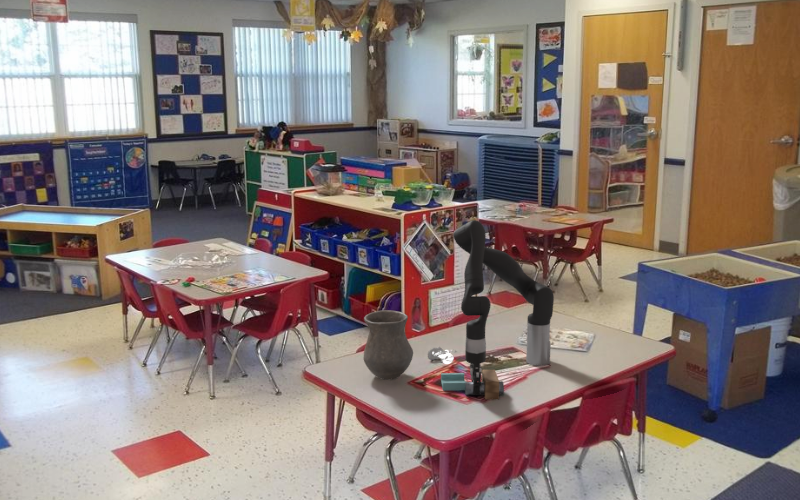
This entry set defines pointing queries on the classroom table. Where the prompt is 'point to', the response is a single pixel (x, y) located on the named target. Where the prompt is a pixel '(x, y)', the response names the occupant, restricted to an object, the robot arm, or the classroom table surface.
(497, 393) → the brown notched block
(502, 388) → the axle
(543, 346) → the robot arm
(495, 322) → the classroom table surface
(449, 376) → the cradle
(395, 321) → the vase
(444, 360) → the figurine
